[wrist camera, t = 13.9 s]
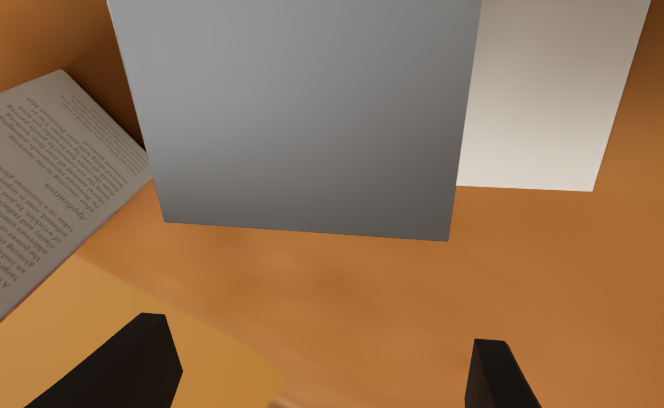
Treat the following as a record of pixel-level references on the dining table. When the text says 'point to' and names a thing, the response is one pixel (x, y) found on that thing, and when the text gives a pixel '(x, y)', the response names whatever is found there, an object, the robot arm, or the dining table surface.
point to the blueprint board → (544, 90)
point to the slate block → (303, 110)
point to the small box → (57, 179)
